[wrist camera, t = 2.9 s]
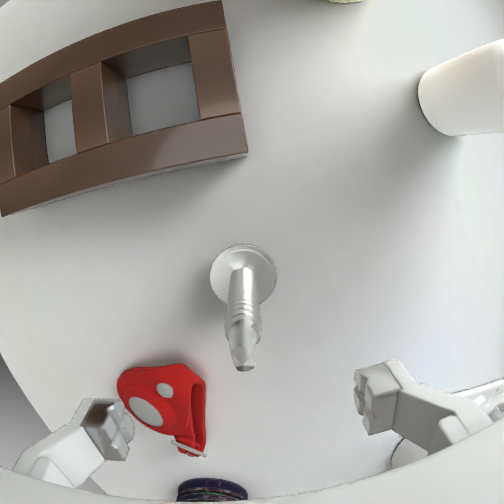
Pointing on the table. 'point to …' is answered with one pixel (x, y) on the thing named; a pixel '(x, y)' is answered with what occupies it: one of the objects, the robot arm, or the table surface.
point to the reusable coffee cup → (344, 1)
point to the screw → (243, 297)
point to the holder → (118, 108)
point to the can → (466, 92)
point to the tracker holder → (168, 403)
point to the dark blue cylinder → (210, 491)
